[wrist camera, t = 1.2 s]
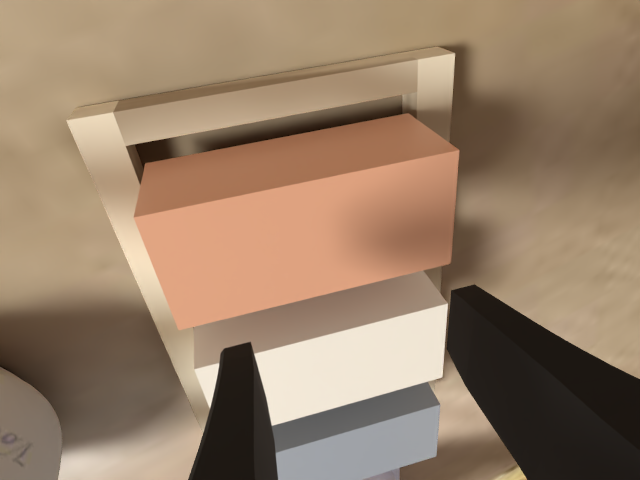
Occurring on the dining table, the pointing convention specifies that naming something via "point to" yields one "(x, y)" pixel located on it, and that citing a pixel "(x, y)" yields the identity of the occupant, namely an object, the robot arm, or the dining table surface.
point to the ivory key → (335, 345)
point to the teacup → (27, 432)
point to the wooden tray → (230, 110)
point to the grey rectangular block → (360, 437)
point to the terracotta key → (297, 216)
